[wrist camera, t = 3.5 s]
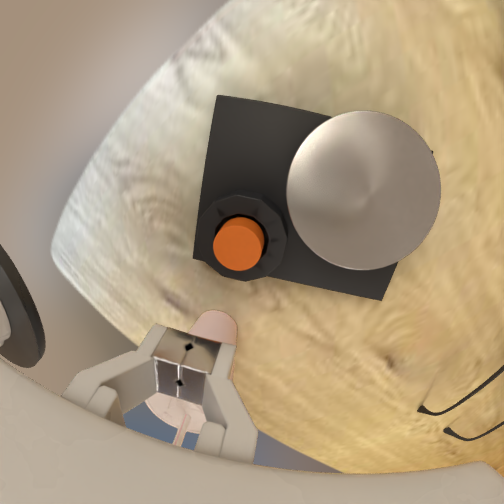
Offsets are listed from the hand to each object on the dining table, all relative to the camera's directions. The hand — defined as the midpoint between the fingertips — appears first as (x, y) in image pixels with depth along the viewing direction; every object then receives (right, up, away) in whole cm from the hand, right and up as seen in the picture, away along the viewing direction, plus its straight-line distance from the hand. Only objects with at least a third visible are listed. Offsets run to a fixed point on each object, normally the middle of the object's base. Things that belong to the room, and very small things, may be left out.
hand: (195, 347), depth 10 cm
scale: (+6, +7, +11) cm, 14 cm away
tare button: (+1, +4, +10) cm, 11 cm away
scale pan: (+9, +7, +7) cm, 13 cm away
